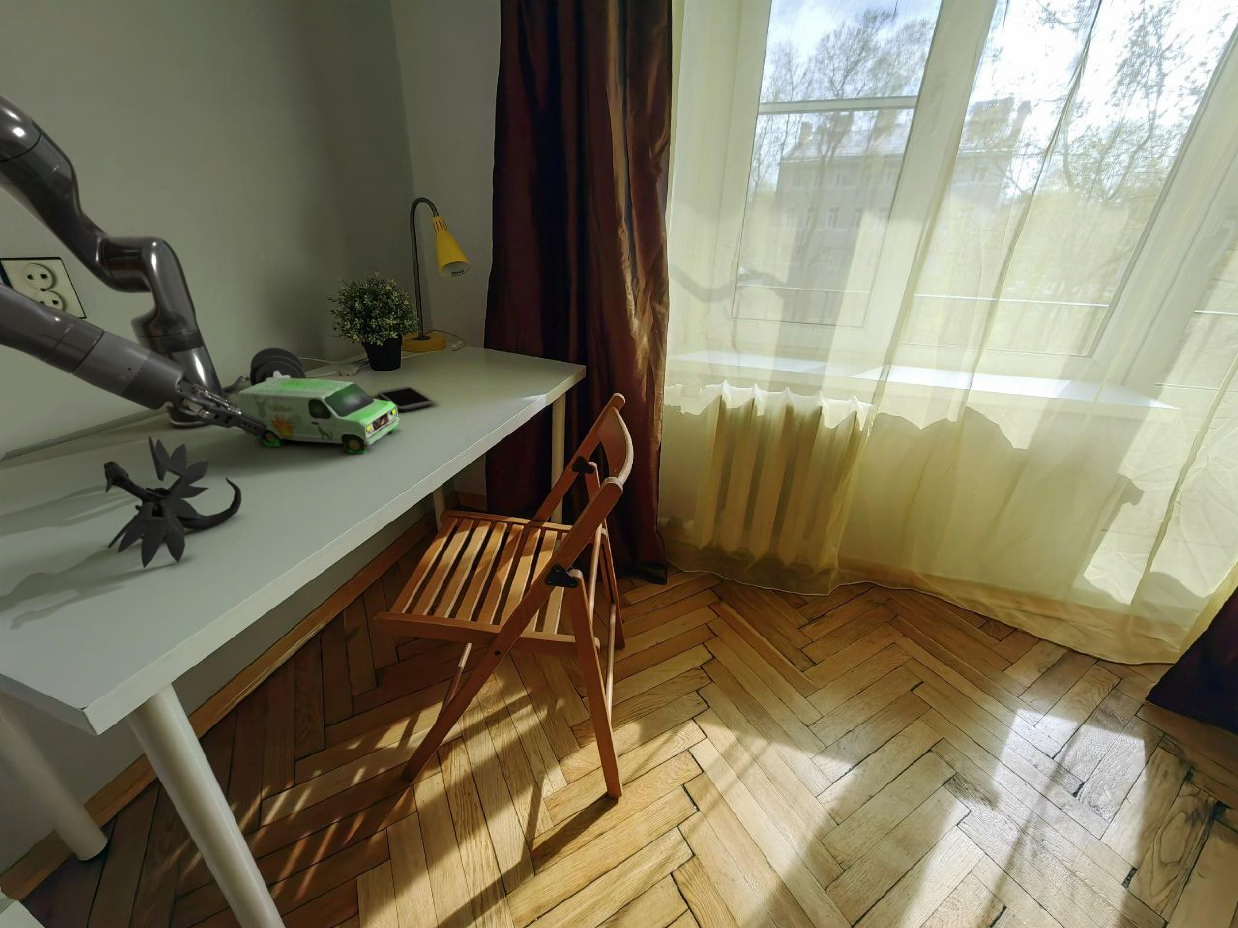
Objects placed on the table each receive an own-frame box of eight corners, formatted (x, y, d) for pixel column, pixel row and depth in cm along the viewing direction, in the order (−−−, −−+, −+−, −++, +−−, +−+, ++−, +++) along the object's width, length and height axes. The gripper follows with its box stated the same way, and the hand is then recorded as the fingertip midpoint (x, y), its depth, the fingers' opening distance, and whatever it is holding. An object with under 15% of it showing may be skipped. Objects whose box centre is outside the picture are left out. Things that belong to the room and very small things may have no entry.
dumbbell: (314, 406, 105) (300, 360, 100) (258, 414, 100) (241, 366, 95) (307, 380, 121) (295, 339, 116) (258, 386, 116) (244, 344, 111)
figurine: (212, 589, 63) (215, 565, 55) (73, 577, 56) (54, 547, 48) (250, 478, 70) (257, 444, 63) (132, 456, 63) (124, 414, 56)
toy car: (372, 455, 84) (358, 399, 79) (243, 444, 87) (223, 391, 82) (405, 431, 93) (395, 380, 88) (288, 422, 96) (272, 373, 92)
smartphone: (409, 388, 115) (408, 384, 115) (436, 405, 105) (435, 401, 105) (376, 395, 111) (376, 391, 110) (401, 413, 101) (400, 409, 100)
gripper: (147, 359, 64) (284, 423, 77) (148, 340, 73) (270, 401, 86) (111, 406, 63) (255, 463, 76) (116, 381, 72) (244, 436, 85)
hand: (263, 430), depth 81 cm, fingers closed
